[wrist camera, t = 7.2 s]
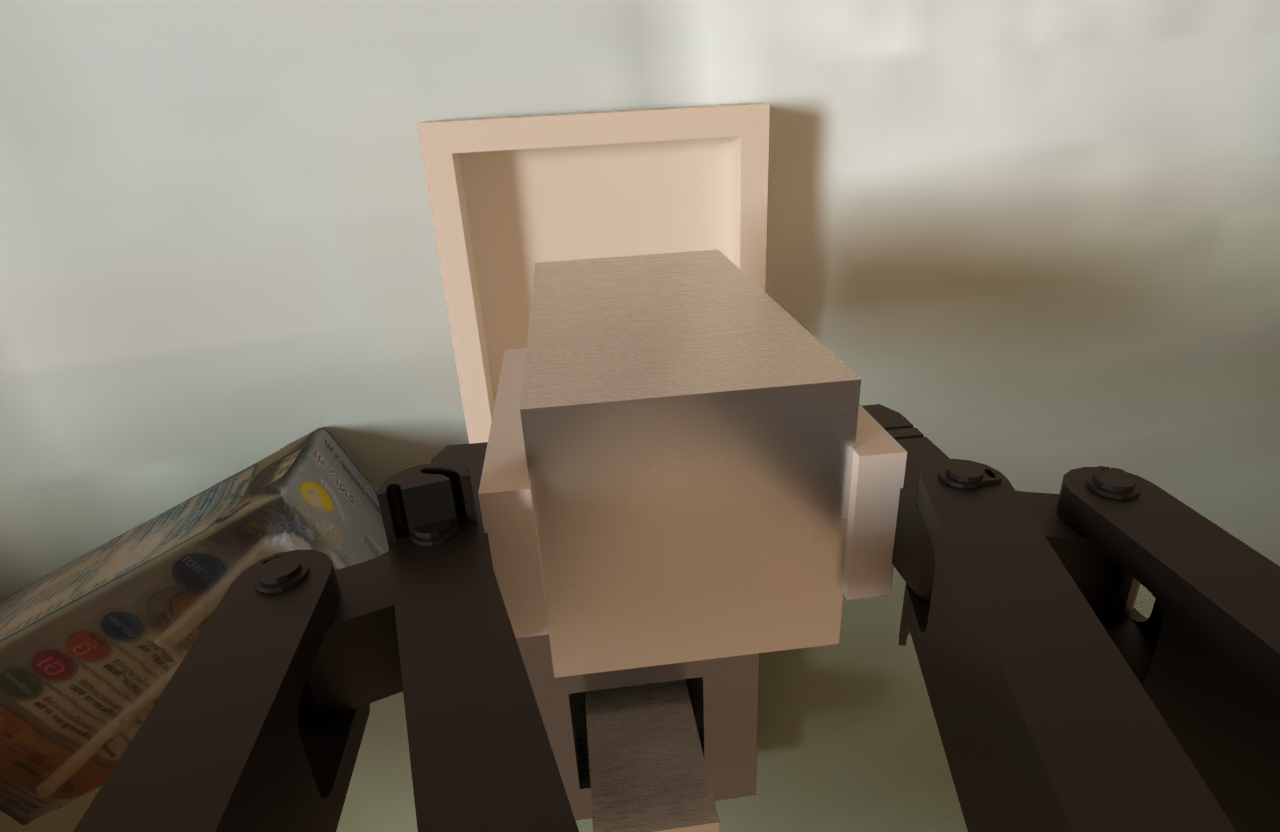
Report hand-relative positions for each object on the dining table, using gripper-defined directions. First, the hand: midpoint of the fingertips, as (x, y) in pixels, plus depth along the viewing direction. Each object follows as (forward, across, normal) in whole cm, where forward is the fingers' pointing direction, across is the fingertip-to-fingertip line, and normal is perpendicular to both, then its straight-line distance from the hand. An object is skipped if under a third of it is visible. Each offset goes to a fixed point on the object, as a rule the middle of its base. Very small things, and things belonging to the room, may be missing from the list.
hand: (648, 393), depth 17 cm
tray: (+13, 0, 0) cm, 13 cm away
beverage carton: (+14, -19, -13) cm, 27 cm away
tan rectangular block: (+4, 0, 0) cm, 4 cm away
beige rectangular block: (+13, 0, -23) cm, 26 cm away
